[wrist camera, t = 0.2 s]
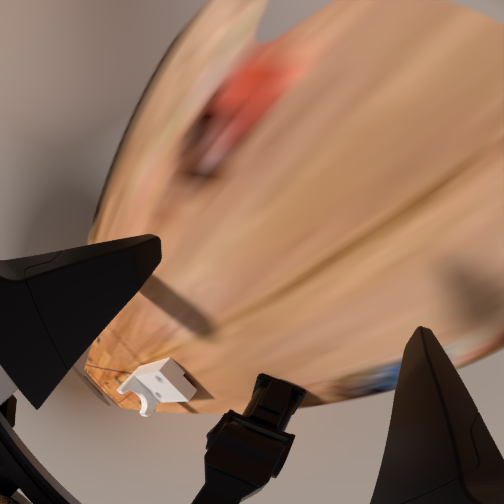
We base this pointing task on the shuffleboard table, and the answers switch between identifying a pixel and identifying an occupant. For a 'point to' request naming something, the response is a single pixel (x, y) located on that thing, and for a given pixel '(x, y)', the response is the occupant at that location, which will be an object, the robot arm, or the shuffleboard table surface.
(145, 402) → the bracket
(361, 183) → the shuffleboard table surface
